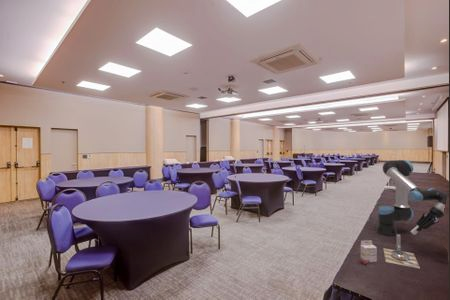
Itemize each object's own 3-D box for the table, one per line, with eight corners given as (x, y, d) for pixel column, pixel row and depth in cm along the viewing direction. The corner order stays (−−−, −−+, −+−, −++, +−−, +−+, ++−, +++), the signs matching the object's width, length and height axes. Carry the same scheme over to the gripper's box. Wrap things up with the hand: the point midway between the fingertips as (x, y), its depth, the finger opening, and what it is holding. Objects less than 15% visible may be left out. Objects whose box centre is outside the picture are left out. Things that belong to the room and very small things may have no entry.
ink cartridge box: (365, 264, 156) (364, 243, 156) (360, 261, 161) (360, 240, 161) (377, 264, 157) (377, 242, 156) (372, 260, 161) (372, 239, 161)
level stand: (383, 250, 175) (383, 247, 175) (413, 255, 166) (413, 252, 166) (386, 263, 156) (385, 261, 156) (420, 270, 147) (420, 267, 147)
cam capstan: (390, 250, 171) (389, 232, 170) (407, 253, 166) (407, 235, 165) (392, 260, 156) (392, 241, 156) (411, 264, 151) (411, 244, 151)
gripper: (450, 217, 154) (422, 240, 158) (436, 211, 167) (411, 233, 170) (441, 209, 155) (413, 233, 158) (428, 204, 168) (402, 226, 171)
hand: (412, 233), depth 164 cm, fingers closed
